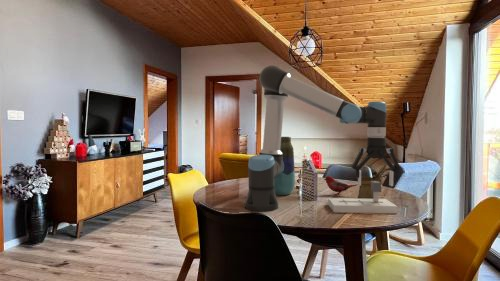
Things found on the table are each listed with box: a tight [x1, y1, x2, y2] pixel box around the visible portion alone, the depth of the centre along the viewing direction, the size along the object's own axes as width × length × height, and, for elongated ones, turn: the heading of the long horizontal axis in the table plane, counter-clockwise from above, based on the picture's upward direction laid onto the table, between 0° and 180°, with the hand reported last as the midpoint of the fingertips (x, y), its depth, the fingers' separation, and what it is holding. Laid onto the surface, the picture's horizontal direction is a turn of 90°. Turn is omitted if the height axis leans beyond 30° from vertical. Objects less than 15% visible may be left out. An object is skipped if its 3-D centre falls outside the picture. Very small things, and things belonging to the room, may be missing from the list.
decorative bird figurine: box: [323, 175, 358, 196], centre depth 170 cm, size 3×18×10 cm, turn 69°
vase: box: [274, 136, 296, 196], centre depth 174 cm, size 14×14×31 cm
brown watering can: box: [356, 164, 388, 199], centre depth 158 cm, size 9×14×18 cm, turn 76°
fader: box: [371, 181, 382, 202], centre depth 140 cm, size 3×5×9 cm, turn 175°
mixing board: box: [327, 197, 398, 214], centre depth 141 cm, size 26×14×3 cm, turn 85°
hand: (375, 185), depth 140 cm, fingers open, 13 cm apart
